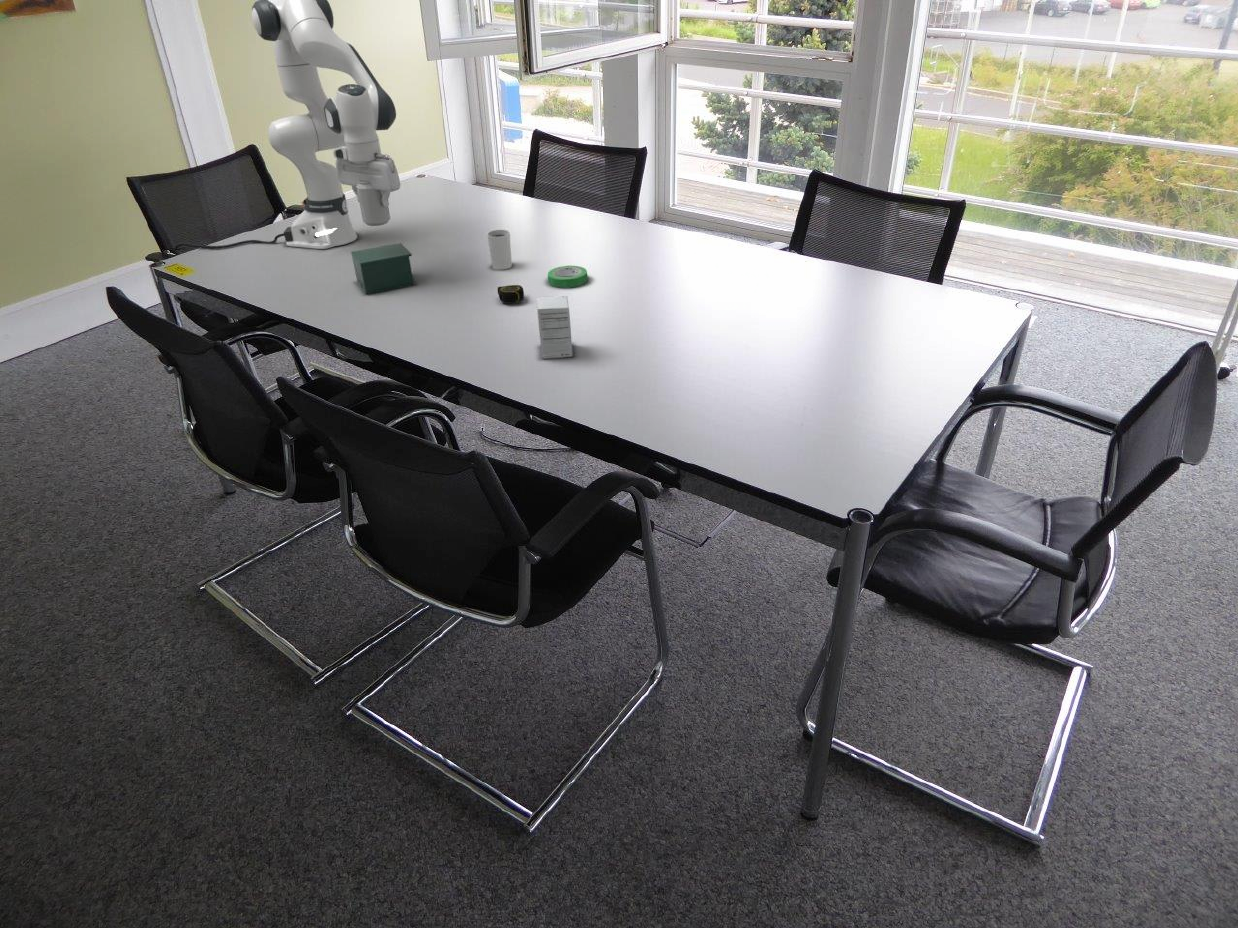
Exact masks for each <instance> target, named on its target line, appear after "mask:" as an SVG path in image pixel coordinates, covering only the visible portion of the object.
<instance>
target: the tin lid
mask: <svg viewBox="0 0 1238 928" xmlns="http://www.w3.org/2000/svg"><path fill="white" fill-rule="evenodd" d="M350 253H351V256H352V255H353V257H354V258H355V259H356V260H357V262H358V263H359V264H360V266H362V265H367V264H372V263H378V262H383V261H389V260H394V259H399V258H405V257H409V258H410V257H412V255H413V253H411V251H410V250H409V249H407V247H406V246H405V245H403V243H402V242H398V243H393V244H387V245H382V246H377V247H371V248H365V249H360V250H354V251H351V252H350Z"/></svg>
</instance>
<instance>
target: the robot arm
mask: <svg viewBox="0 0 1238 928" xmlns="http://www.w3.org/2000/svg"><path fill="white" fill-rule="evenodd" d="M333 12H334V11H333V9H332V6H331V4H330V2H329V0H257V1H255V2H254V3H253V5H252V7H251V19H252V24H253V27H254V29H255V31H256V32H257V34H258V36H259V37H260V38H261V39H263V40H264V41H268V42H272V44H273V52H274V58H275V63H276V67H277V71H278V77H279V80H280V84H281V89H282V92H283V94H284V95H285V96H286V97H287V98H289V99H290V100H291V101H295V102H296V103H299V104H303V105H305V107H306V108H307V112H308V113H306V114H305V113H304V114H298V115H290V116H284V117H281V118H279V119H276V120H274V121H272V122H271V123H270V124H269V126H268V130H267V137H268V142H269V144H270V146H271V148H272V149H273V150H274V151H275V152H276V153H277V154H278V155H280V156H283V157H284V158H286V159H288V160H289V161H290V162H291V163H292V164H293V165H294V166H295V167H296V169H297V170H298V172H299V174H300V176H301V179H302V182H303V185H304V188H305V192H306V195H307V196H306V198H304V199H303V200H302V202H300V204H301V207H303V206H304V210H303V211H302V212H301V213H300V214H299V215H298V216H297V217H296V218H295V219H294V220H293V221H292V223H291V226H287V227H286V228H285V230H284V231H283V232H282V233H279V234H277V235H276V236H274V238H273V240H271V241H264V240H259V239H247V240H242V241H237V242H234V243H229V244H224V245H207V244H194V243H188V242H180V243H177V244H176V245H175V246H174V247H173V249H174V250H176V249H178V248H179V247H182V246H185V247H191V248H200V249H201V248H203V249H226V248H233V247H236V246H240V245H243V244H244V245H245V244H250V243H255V244H256V243H257V244H271V245H272V244H275V243H276V242H277V241H278V239H279V238H282V237H284V239H285V244H286V246H287V247H294V248H305V249H316V250H326V249H330V248H333V247H339V246H342V245H347V244H349V243H352V242H355V241H356V240H357V239H358V234H357V233H356V231H355V229H354V227H353V223H352V221H351V219H350V215H349V207H348V202H347V199H346V198H347V197H346V194H345V193H344V191H343V185H345V186H350V187H351V189H352V192H353V193H354V195H355V196H356V198H357V202H358V203H359V199H358V194H357V189H356V186H357V184H358V180H359V181H360V182H371V183H370V184H371V186H372V187H373V188H374V189H375V190H380V191H381V194H383V196H382V199H381V200H380V203H381V206H384V207H386V206H388V207H390V201H389V199H390V196H391V193H393V192H396V191H399V190H400V188H401V186H402V185H401V184H402V183H401V180H400V176H399V172H398V169H397V166H396V163H395V161H394V159H393V158H392V157H390V155H388V154H382V149H381V144H380V138H379V135H378V133H377V131H388V130H389V129H390V128H391V127H392V125H393V124H394V123H395V120H396V119H397V110H396V106H395V103H394V101H393V99H392V98H391V96H390V95H389V94H388V92H387V91H386V90H385V89H384V88H383V87H382V86H381V84H380V83H379V81H378V80H377V79H376V76H374V75H373V73H372V71H371V70H370V68H369V67H368V65H367V64H366V62H365V60H364V59H363V58H362V56H361V55H360V53H359V52H358V51H357V49H356V48H355V47H354V46H353V45H352V44H351V43H348V42H347V41H345V40H343V39H342V38H341V37H340V36H339V35H338V34H336V32H335V31H334V30H333V28H334V24H335V23H334V22H335V21H334V19H335V18H334V13H333ZM318 68H321V69H328V70H334V71H338V72H341V73H345V74H347V75H348V76H350V77H351V78H352V80H353V81H354V82H355V83H347V84H344V85H340V86H339V87H338V88H337V89H336V95H334V96H332V97H328V96H327V95H326V93H325V91H324V89H323V88H324V87H323V85H322V82H321V79H320V75H319V72H318ZM329 150H333V151H332V155H333V157H334V158H335V166H334V165H333V164H331V163H329V162H325V161H322V160H319V159H318V158H317V155H316V153H318V152H323V151H324V152H325V151H329Z"/></svg>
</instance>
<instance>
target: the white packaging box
mask: <svg viewBox="0 0 1238 928" xmlns="http://www.w3.org/2000/svg"><path fill="white" fill-rule="evenodd" d="M536 309H537V310H536V312H537V322H538V332H539V340H540V350H541V358H542V359H543V360H544V359H559V358H560V359H561V358H571V357H573V341H572V329H571V315H570V307H569V298H568V295H554V296H541V297H540V296H539V297H536Z"/></svg>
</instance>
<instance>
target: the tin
mask: <svg viewBox="0 0 1238 928" xmlns="http://www.w3.org/2000/svg"><path fill="white" fill-rule="evenodd" d="M351 257H352V258H351V259H352V263H353V267H354V272H355V277H356V282H357V284H358V285H359V287H360V288H361V289H362V291H363V292H364V294H365V295H370V294H376V293H381V292H385V291H391V290H395V289H400V288H406V287H410V286H411V287H412V286H415V284H414V277H413V271H412V267H411V260H410V259H411V258H410V257H405V258H399V259H394V260H389V261H383V262H378V263H372V264H367V265H362V266H360V264H359V263H358V262H357V260H356V259H355V258H354V257H353V255H352V254H351Z"/></svg>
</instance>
